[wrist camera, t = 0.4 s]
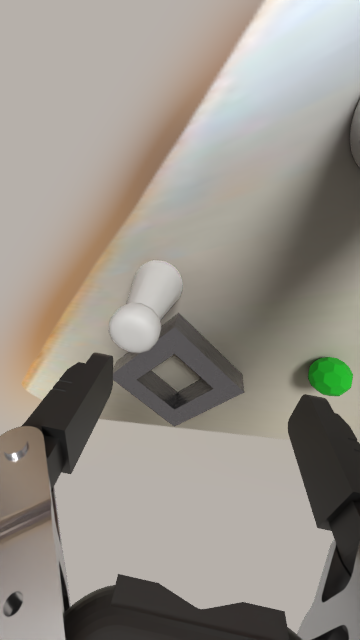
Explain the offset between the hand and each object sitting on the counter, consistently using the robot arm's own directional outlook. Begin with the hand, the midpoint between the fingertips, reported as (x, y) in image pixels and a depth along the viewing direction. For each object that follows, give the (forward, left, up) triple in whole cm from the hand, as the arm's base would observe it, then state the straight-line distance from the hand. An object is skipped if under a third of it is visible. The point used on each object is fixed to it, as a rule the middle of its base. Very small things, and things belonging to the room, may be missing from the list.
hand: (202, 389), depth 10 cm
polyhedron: (-1, +22, -21) cm, 31 cm away
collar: (+16, +10, -21) cm, 28 cm away
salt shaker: (+7, -2, -21) cm, 22 cm away
